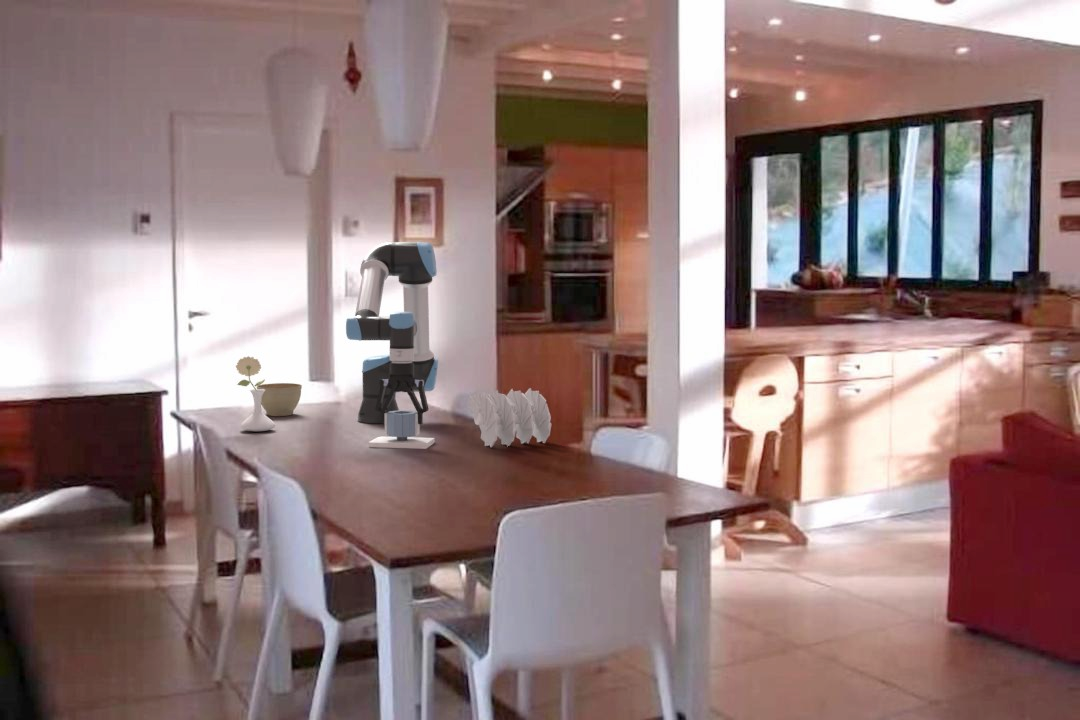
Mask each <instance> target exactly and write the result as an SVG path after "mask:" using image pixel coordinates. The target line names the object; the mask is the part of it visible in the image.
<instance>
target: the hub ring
mask: <svg viewBox="0 0 1080 720" xmlns="http://www.w3.org/2000/svg"><path fill="white" fill-rule="evenodd" d="M415 414H417V411H416V410H415V411H414V410H401V409H399V411H389V412H387V434H386V435H387V437H416V436H417V435H415Z"/></svg>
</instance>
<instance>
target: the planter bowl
mask: <svg viewBox="0 0 1080 720" xmlns="http://www.w3.org/2000/svg"><path fill="white" fill-rule="evenodd" d="M302 388H303V385H302V384H300V383H295V382H294V383H292V382H287V383H286V382H276V383H265V384H264V383H262V384H260V385H258V386H256V389H264V390H265V391H264V393H263V395H262V400H261V408H263V409H264V410H265V412H266V416H271V417H285V416H291V415H293V414H294V411H295V409H296V408H297V407H298V404H299V402H300V399H301V395H302Z"/></svg>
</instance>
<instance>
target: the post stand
mask: <svg viewBox="0 0 1080 720" xmlns="http://www.w3.org/2000/svg"><path fill="white" fill-rule="evenodd" d="M435 440H436V439H435V437H416V436H411V437H392V436H378V437H375V438H374V439H372V440H369V441H368V448H384V449H385V448H387V449H388V448H389V449H392V448H393V449H422V450H426V449H428V448H430V447H431V446H432V445H434V444H435V443H436V442H435Z"/></svg>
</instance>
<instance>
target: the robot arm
mask: <svg viewBox="0 0 1080 720" xmlns="http://www.w3.org/2000/svg"><path fill="white" fill-rule="evenodd" d="M359 269H360V270H359V272H360V276H361V282H360V286H359V291H358V292H359V293H358V296H357V303H356V306H355V314H354V315H353V316H348V317H347V318H346V321H345V323H346V324H345V332H346V333H345V334H346V337H347V339H349V340H352V341H389V354H384V355H376V356H370V357H367V358H365V359H363V361H362V371H361V373H362V400H361V403H360V405H359V406H360V407H359V410H358V413H357V421H358V422H359V423H364V424H384V435H387V412H389V411H400V408H399V405H398V403H397V400H396V396H397V395H396V394H397V393H401V392H402V393H407V395H408V397H409V398H410V400H411V402H412V404H413V406H414V409H415V412H417V414H415V435H416V436H418V435H420V433H421V432H420V427H421V425H422V424H423V421H424V419H423V418H424V416H423V415H424V413H426V412H428V411H429V404H428V400H427V395H426V392H432V391H433V390H434V389H435V387H436V381H437V375H438V366H439V359H437V358H436V357H435V353H434V352H433V351H431V350H430V318H429V317H430V316H429V315H430V313H429V310H430V309H429V308H430V307H429V285H430V284H431V283H432V282H433V278H434V277H436V276H437V262H436V255H435V249H434V247H433V245H432V244H431V243H429V242H421V241H394V242H393V241H387V242H383V243H380V244H378V245H377V246H375V247H373V248H372V249H371V250H369V251H368V253H367V254H365V256H364V258H363V260H362V261H361V264H360V268H359ZM388 277H398V282H399V284H401V285H402V287H403V288H402V290H403V291H402V292H403V293H402V294H403V311H392V312H391V313H390V314H389V316H380V312H381V304H382V298H383V292H384V286H385V281H387V279H388ZM415 392H418V394H419V398H420V402H421V403H420V402H419V399H418V398H417V396H416V394H415Z"/></svg>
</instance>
